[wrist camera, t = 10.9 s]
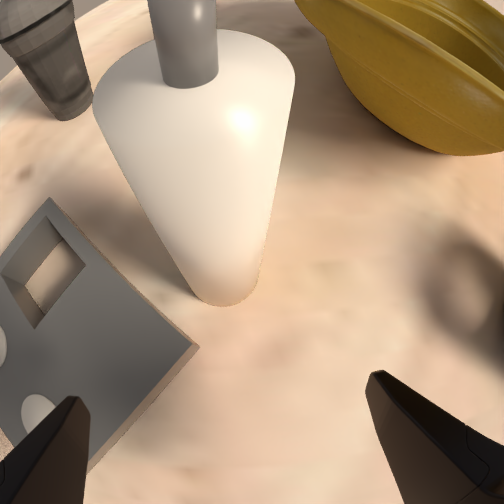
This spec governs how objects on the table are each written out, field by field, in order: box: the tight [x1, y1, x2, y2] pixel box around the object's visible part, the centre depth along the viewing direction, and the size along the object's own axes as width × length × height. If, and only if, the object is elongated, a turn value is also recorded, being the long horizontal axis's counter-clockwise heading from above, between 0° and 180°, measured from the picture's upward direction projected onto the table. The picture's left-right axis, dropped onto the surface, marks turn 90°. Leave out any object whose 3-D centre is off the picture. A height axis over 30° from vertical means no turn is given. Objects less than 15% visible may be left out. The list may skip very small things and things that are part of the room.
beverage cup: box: [0, 0, 93, 121], centre depth 15 cm, size 7×7×20 cm
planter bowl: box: [294, 0, 504, 156], centre depth 20 cm, size 32×32×13 cm
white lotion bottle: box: [92, 0, 295, 307], centre depth 11 cm, size 4×4×16 cm
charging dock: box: [0, 197, 200, 475], centre depth 15 cm, size 14×14×3 cm
